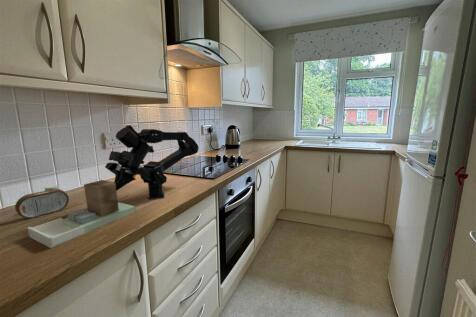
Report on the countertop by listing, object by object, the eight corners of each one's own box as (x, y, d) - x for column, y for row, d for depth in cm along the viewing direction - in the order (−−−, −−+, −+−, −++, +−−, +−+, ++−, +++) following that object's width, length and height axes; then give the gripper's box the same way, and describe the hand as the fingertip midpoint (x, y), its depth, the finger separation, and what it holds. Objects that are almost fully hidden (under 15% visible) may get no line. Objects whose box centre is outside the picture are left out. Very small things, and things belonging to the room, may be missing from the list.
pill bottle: (47, 206, 93) (43, 186, 92) (61, 203, 96) (58, 183, 95) (47, 210, 90) (43, 189, 88) (62, 207, 93) (59, 186, 91)
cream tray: (62, 224, 77) (60, 216, 76) (84, 233, 70) (83, 224, 70) (29, 236, 69) (27, 227, 69) (50, 248, 63) (48, 237, 62)
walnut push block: (105, 206, 86) (101, 180, 84) (118, 210, 82) (115, 182, 80) (88, 212, 81) (83, 184, 79) (101, 216, 77) (97, 187, 75)
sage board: (115, 206, 92) (114, 201, 91) (135, 211, 86) (134, 206, 86) (63, 225, 76) (62, 219, 76) (83, 233, 71) (82, 227, 70)
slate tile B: (81, 214, 80) (80, 209, 79) (88, 216, 78) (87, 211, 77) (68, 219, 76) (67, 213, 76) (74, 221, 74) (73, 215, 74)
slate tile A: (89, 217, 77) (88, 211, 77) (96, 219, 75) (95, 213, 75) (76, 222, 74) (75, 216, 74) (83, 224, 72) (82, 218, 72)
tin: (68, 206, 93) (65, 186, 91) (71, 208, 91) (67, 187, 89) (17, 220, 82) (12, 197, 80) (19, 222, 80) (14, 198, 78)
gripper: (106, 141, 91) (80, 176, 83) (138, 143, 81) (112, 182, 74) (127, 158, 99) (105, 191, 91) (158, 161, 90) (136, 198, 82)
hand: (113, 190), depth 85 cm, fingers closed
